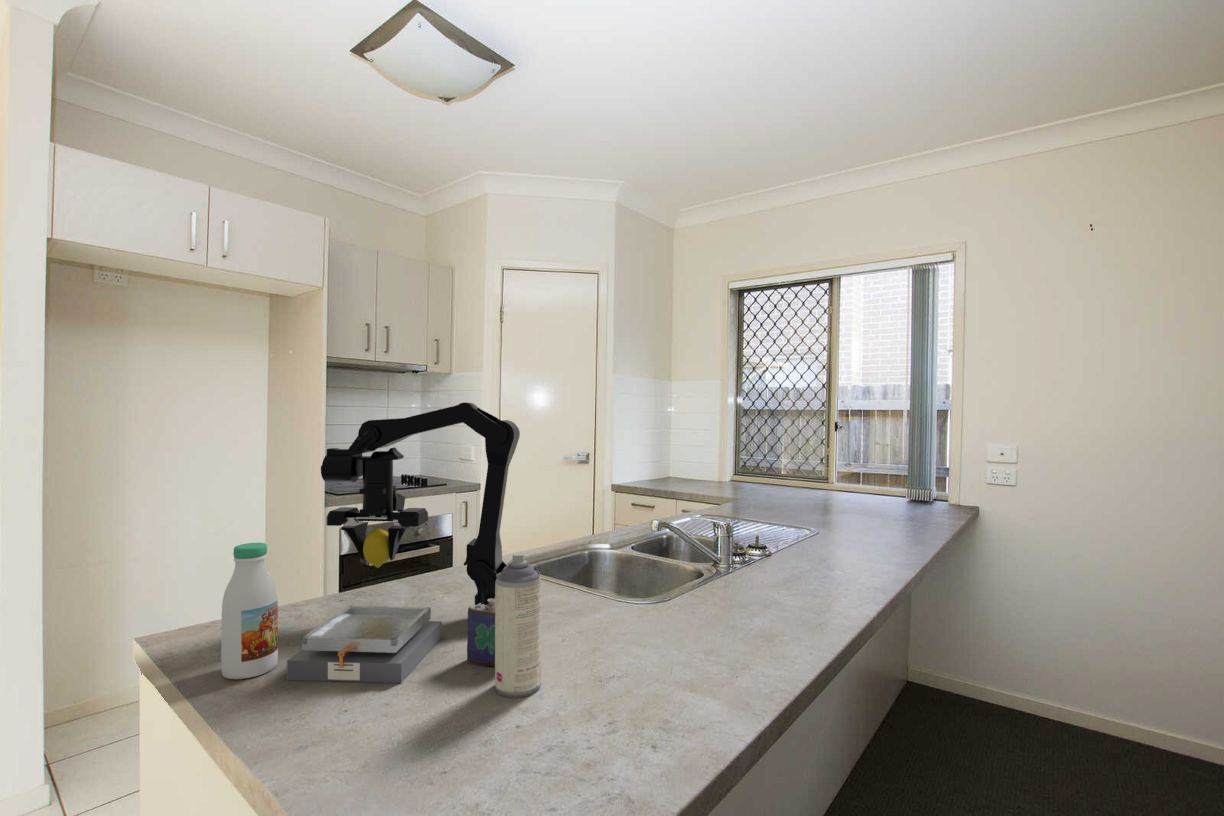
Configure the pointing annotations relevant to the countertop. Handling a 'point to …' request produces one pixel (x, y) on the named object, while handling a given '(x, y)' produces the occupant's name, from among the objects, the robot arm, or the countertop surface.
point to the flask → (481, 634)
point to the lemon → (376, 547)
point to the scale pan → (367, 630)
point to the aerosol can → (517, 629)
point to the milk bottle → (249, 616)
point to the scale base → (366, 661)
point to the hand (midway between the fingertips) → (378, 559)
